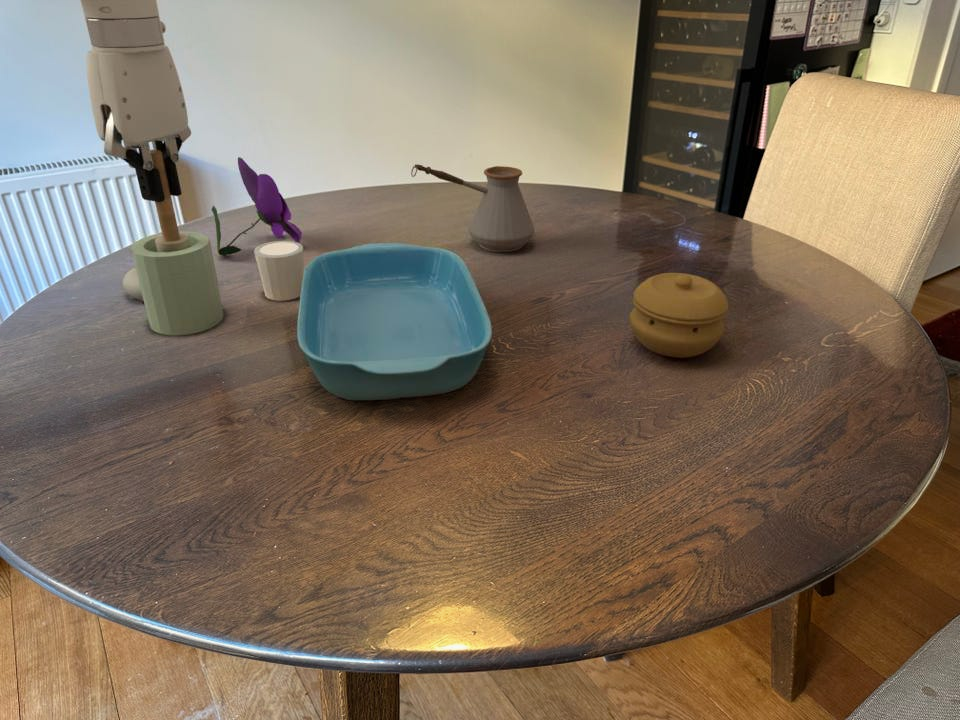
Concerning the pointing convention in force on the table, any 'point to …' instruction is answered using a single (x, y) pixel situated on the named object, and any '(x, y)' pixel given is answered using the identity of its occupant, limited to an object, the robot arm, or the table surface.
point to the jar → (178, 285)
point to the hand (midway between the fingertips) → (162, 196)
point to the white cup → (280, 269)
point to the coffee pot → (496, 209)
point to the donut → (132, 285)
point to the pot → (678, 314)
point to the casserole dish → (391, 321)
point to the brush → (167, 214)
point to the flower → (262, 207)
